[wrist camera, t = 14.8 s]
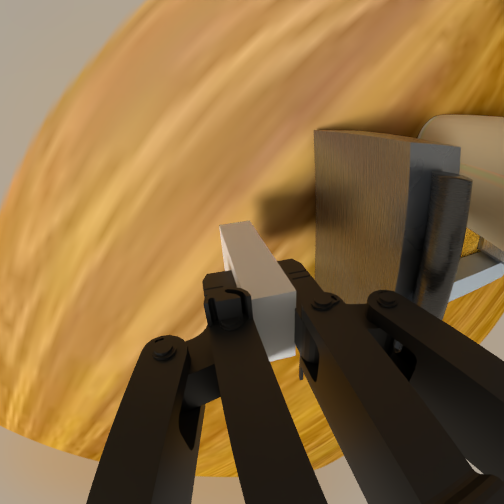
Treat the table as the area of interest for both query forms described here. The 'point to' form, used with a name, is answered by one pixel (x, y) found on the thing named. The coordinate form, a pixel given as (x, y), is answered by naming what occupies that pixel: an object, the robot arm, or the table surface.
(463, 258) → the back rail
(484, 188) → the coffee cup
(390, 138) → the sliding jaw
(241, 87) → the table surface
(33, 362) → the table surface
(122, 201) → the table surface
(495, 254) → the block
